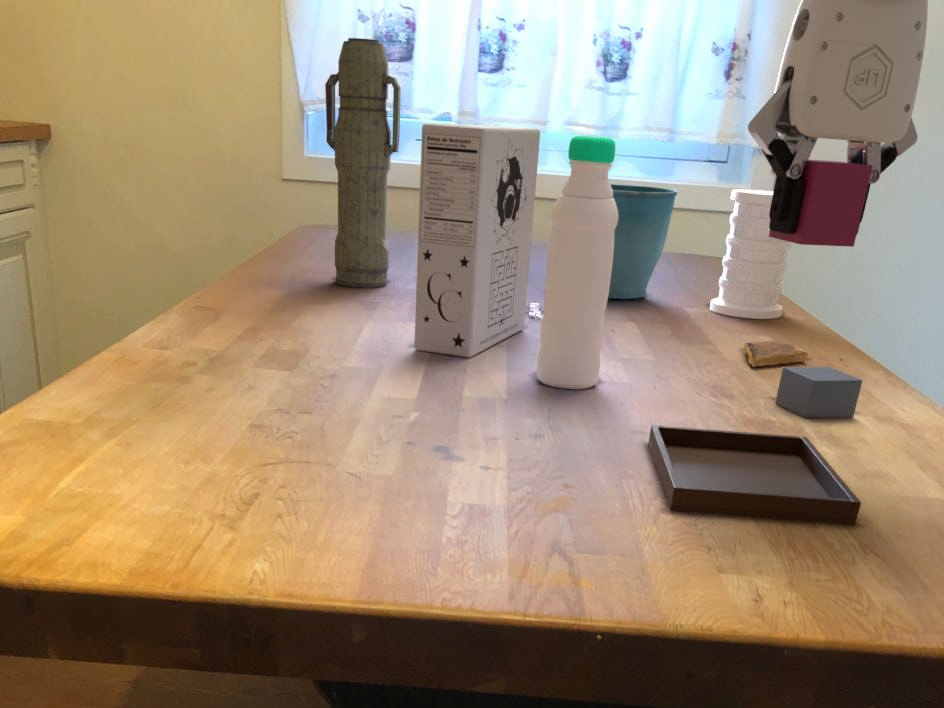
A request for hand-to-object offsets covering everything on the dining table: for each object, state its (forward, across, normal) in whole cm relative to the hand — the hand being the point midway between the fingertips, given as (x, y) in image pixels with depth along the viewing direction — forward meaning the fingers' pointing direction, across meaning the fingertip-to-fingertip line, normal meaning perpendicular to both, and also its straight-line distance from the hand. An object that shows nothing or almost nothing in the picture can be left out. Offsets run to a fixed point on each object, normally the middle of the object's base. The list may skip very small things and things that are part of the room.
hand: (812, 230), depth 81 cm
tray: (+20, -6, -6) cm, 21 cm away
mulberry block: (+1, 0, 0) cm, 1 cm away
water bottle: (+20, -9, +28) cm, 36 cm away
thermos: (+20, -21, +95) cm, 99 cm away
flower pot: (+20, +21, +88) cm, 92 cm away
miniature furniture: (+20, -2, +69) cm, 72 cm away
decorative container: (+20, +39, +73) cm, 85 cm away
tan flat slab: (+20, +24, +38) cm, 49 cm away
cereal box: (+20, -14, +51) cm, 57 cm away
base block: (+20, +15, +16) cm, 29 cm away
